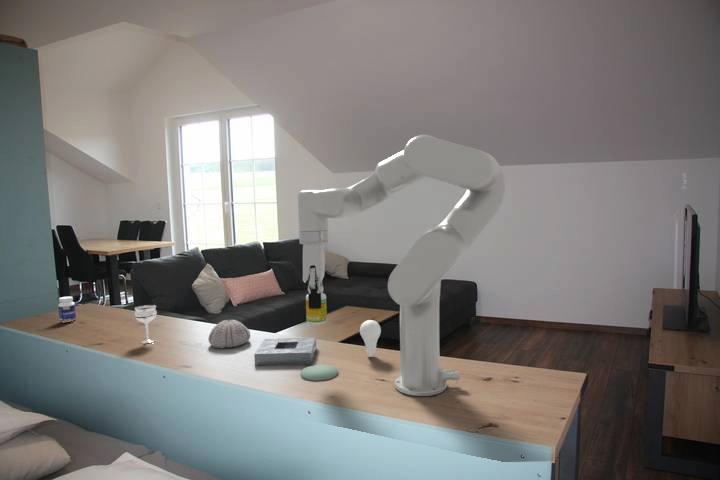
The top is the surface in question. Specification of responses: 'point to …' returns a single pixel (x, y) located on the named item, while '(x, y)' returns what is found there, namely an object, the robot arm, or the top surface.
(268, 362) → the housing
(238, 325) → the sea urchin shell
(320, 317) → the supplement bottle
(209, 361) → the top surface
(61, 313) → the pill bottle
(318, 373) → the pad
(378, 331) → the lightbulb
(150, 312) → the wineglass
